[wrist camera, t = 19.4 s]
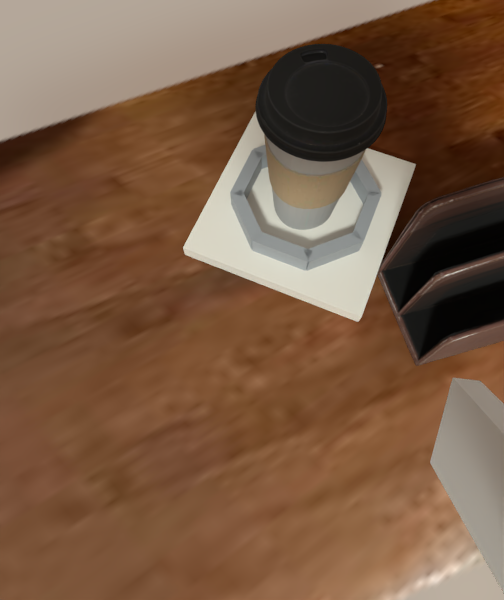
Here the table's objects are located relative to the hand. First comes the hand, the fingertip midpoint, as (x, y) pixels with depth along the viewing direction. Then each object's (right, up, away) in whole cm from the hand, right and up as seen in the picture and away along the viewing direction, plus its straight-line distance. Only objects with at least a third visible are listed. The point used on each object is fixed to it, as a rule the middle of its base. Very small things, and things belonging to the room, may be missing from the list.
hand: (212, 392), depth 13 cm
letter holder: (+24, +3, +31) cm, 39 cm away
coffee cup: (+6, +12, +32) cm, 35 cm away
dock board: (+6, +12, +34) cm, 36 cm away
